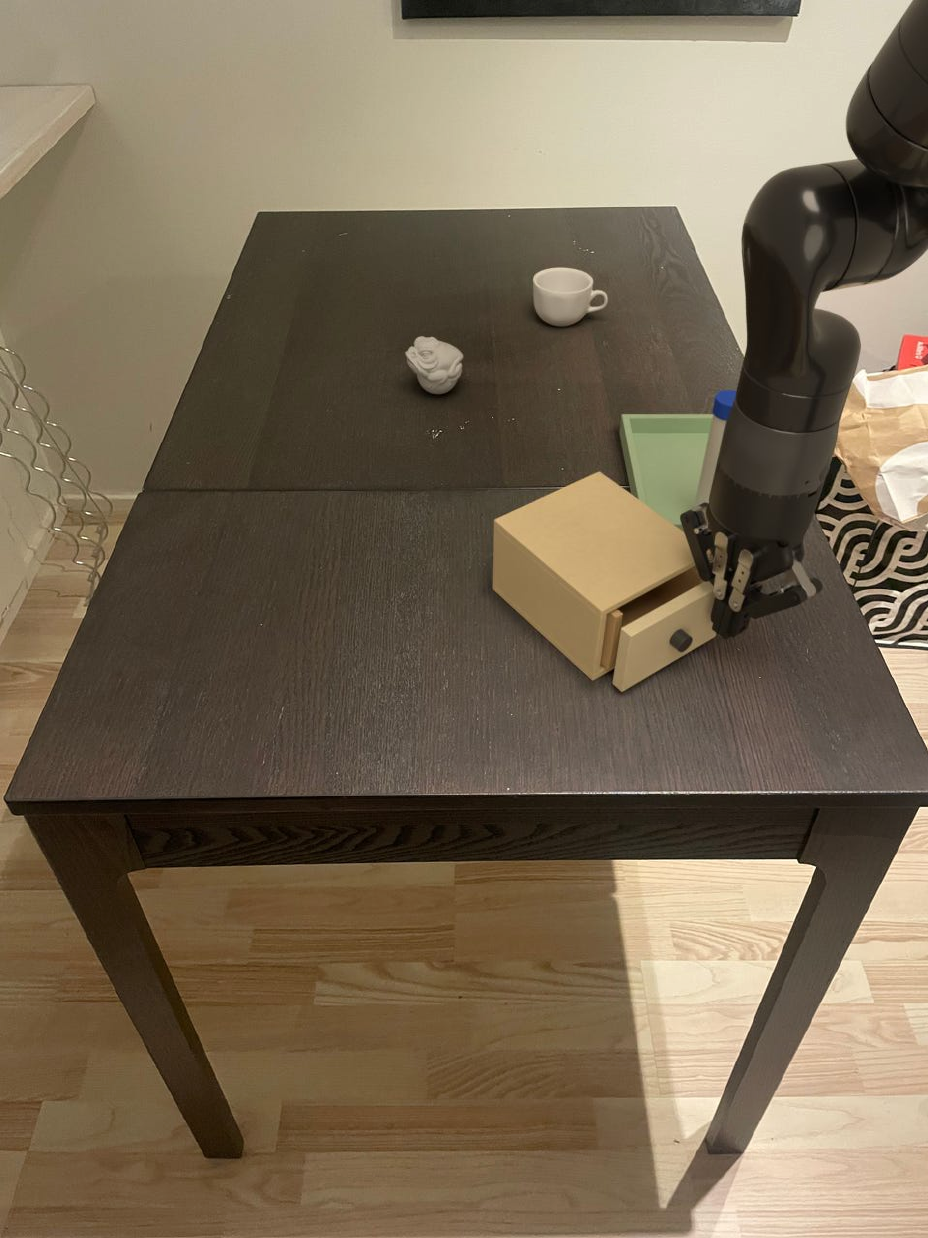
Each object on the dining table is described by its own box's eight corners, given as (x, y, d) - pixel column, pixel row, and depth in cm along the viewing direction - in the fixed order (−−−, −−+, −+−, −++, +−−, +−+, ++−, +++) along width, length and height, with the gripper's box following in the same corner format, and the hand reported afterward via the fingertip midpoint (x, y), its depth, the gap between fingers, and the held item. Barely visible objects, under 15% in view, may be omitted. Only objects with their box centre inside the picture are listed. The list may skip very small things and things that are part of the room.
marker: (722, 514, 97) (750, 394, 87) (714, 530, 95) (741, 408, 86) (695, 506, 98) (720, 386, 88) (687, 521, 96) (711, 401, 87)
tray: (767, 543, 95) (773, 524, 93) (640, 543, 95) (643, 524, 93) (729, 432, 109) (733, 413, 107) (619, 432, 109) (621, 413, 107)
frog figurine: (401, 383, 117) (398, 330, 112) (456, 374, 118) (455, 321, 113) (414, 409, 112) (412, 355, 108) (471, 399, 114) (471, 345, 109)
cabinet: (695, 621, 87) (711, 551, 81) (592, 681, 82) (601, 611, 76) (591, 539, 95) (599, 470, 89) (492, 589, 90) (493, 519, 84)
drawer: (725, 644, 84) (741, 588, 79) (631, 701, 79) (641, 645, 74) (614, 556, 92) (621, 500, 87) (522, 603, 88) (525, 547, 83)
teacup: (525, 328, 126) (527, 289, 122) (537, 302, 132) (539, 264, 128) (600, 337, 124) (604, 298, 121) (609, 310, 130) (613, 272, 126)
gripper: (668, 434, 70) (638, 605, 82) (811, 527, 62) (755, 700, 74) (739, 401, 73) (701, 571, 85) (884, 486, 65) (819, 659, 77)
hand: (726, 631), depth 80 cm, fingers closed
